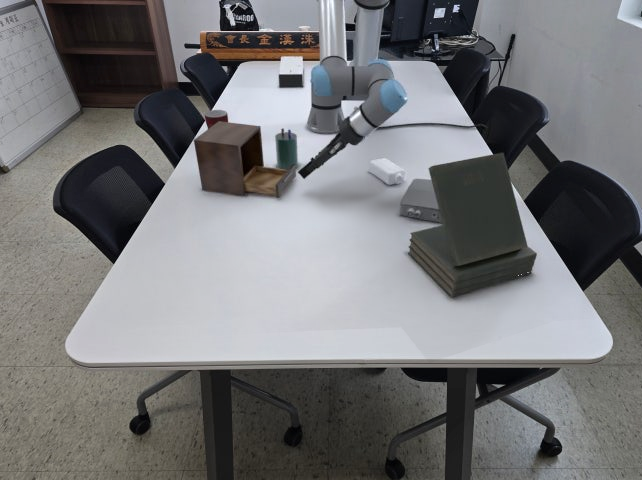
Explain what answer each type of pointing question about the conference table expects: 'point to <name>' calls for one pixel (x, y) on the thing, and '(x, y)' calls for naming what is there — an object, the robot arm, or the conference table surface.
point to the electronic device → (420, 201)
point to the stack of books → (473, 228)
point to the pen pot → (286, 149)
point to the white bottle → (387, 171)
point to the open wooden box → (228, 156)
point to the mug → (215, 117)
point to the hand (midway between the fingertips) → (301, 174)
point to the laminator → (291, 71)
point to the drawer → (269, 180)
